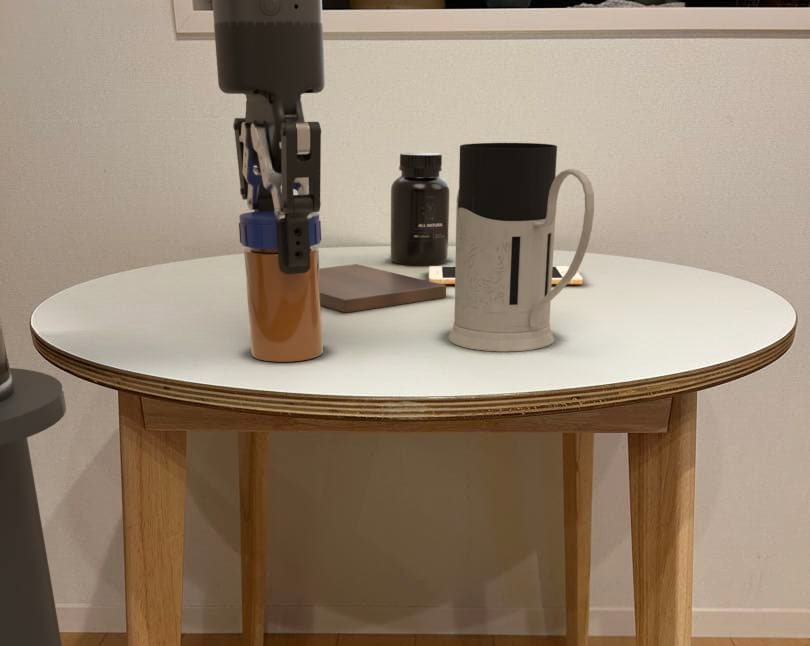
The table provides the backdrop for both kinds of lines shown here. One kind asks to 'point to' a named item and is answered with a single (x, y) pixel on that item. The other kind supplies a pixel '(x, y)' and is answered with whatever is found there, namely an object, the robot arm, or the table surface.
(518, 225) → the glass holder
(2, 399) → the robot arm
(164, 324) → the table surface
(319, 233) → the jar lid
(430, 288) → the serving board
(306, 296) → the jar
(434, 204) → the supplement bottle
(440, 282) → the cell phone
